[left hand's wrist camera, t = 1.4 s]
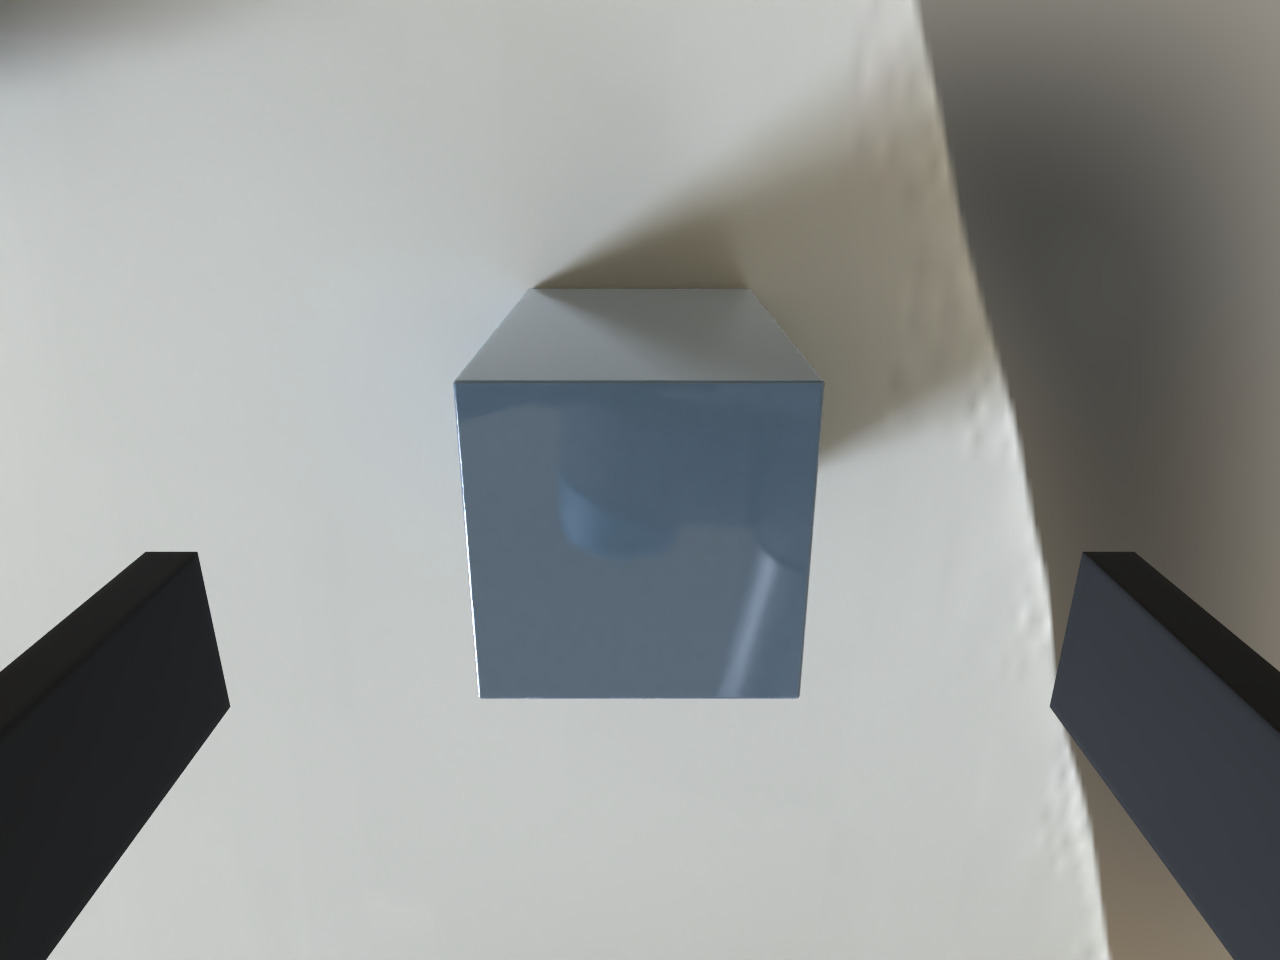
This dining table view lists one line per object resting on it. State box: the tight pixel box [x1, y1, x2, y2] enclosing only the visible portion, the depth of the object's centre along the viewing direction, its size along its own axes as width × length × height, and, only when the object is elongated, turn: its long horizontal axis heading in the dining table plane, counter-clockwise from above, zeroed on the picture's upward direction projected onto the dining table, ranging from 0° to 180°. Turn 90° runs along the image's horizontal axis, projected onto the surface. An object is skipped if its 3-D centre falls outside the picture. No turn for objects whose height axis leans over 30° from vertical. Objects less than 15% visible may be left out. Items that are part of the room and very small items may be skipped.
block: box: [453, 289, 825, 699], centre depth 21 cm, size 7×6×11 cm
